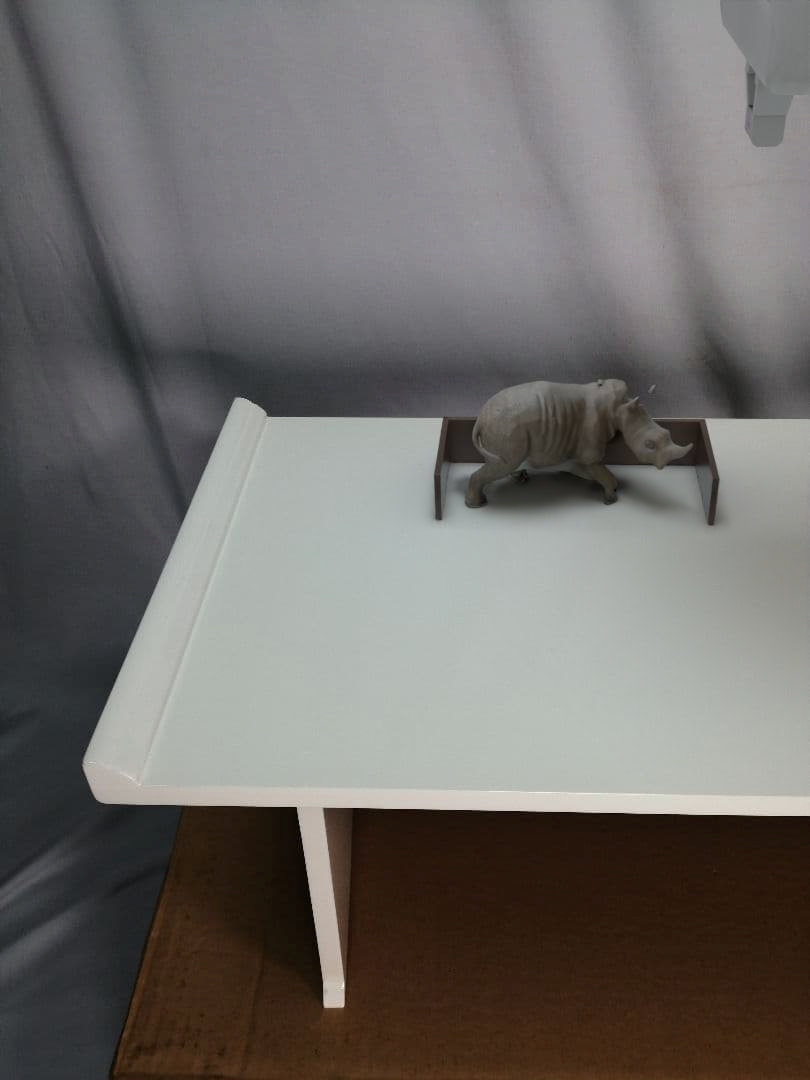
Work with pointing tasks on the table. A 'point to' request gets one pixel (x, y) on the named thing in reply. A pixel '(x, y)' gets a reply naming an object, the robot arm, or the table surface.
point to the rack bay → (682, 433)
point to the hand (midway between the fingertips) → (762, 140)
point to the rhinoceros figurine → (564, 433)
